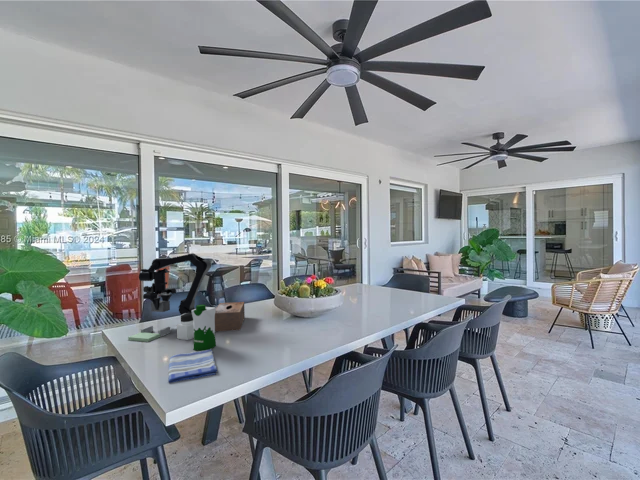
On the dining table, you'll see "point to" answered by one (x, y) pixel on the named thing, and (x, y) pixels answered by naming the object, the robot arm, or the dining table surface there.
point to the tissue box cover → (229, 316)
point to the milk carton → (204, 327)
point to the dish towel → (191, 366)
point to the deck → (148, 334)
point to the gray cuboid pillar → (161, 306)
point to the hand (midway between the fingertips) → (160, 308)
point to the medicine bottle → (185, 327)
